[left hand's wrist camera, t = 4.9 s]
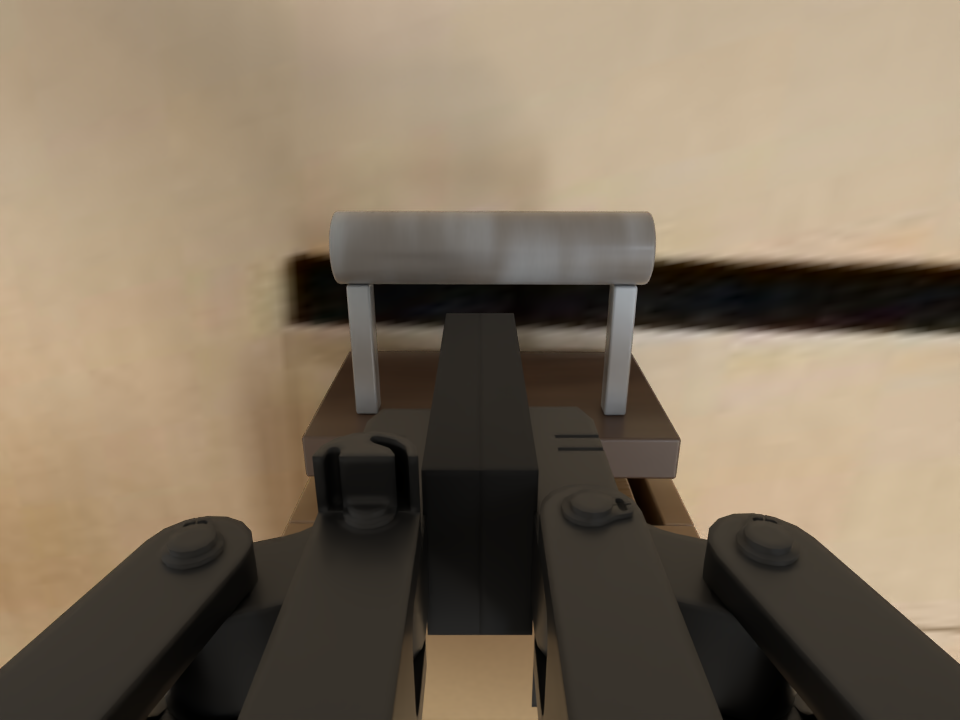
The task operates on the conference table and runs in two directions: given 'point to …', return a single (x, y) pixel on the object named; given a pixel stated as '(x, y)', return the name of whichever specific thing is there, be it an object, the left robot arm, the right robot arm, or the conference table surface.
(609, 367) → the drawer
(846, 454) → the conference table surface
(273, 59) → the conference table surface
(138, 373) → the conference table surface
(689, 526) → the cabinet
